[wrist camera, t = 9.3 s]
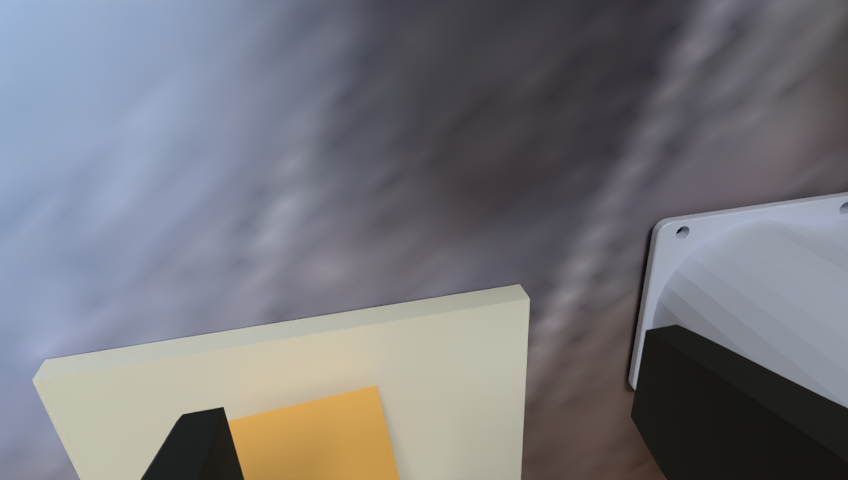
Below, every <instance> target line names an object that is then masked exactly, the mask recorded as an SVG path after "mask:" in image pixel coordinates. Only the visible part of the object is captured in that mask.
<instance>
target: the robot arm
mask: <svg viewBox="0 0 848 480" xmlns="http://www.w3.org/2000/svg"><path fill="white" fill-rule="evenodd" d="M681 227H682V230H681V231H680V232H679V233H678V234H676V233H677V231H678V229H679V228H681ZM629 383H630V385H631V386H632V387H633V389H634V390H635V396H634V402H633V408H632V413H631V417H632V419H633V421H634V423H635V425H636V426H637V428H638V430H639V432H640V434H641V436H642V438H643V440H644V442H645V443H646V445H647V447H648V449H649V450H650V452H651V454H652V456H653V457H654V459H655V461H656V463H657V464H658V466H659V468H660V469H661V471H662V472H663V474H664V475H665V477H666V478H667V480H848V192H844V193H837V194H830V195H823V196H816V197H809V198H803V199H796V200H789V201H782V202H775V203H768V204H761V205H754V206H747V207H741V208H734V209H727V210H720V211H713V212H706V213H699V214H692V215H685V216H679V217H672V218H666V219H663V220H661V221H660V222H658V223H657V224H656V226H655V227H654V229H653V232H652V238H651V244H650V250H649V256H648V263H647V269H646V275H645V281H644V287H643V293H642V300H641V306H640V312H639V318H638V324H637V330H636V337H635V343H634V349H633V355H632V361H631V368H630V374H629ZM141 480H244V476H243V473H242V469H241V466H240V462H239V459H238V456H237V452H236V449H235V445H234V442H233V438H232V435H231V431H230V428H229V424H228V421H227V417H226V414H225V410H224V407H220V408H214V409H209V410H203V411H198V412H192V413H187V414H182V415H181V417H180V418H179V419H178V420H177V421H176V423H175V425H174V426H173V428H172V430H171V431H170V433H169V434H168V436H167V438H166V439H165V441H164V443H163V444H162V446H161V448H160V449H159V451H158V452H157V454H156V456H155V457H154V459H153V461H152V462H151V464H150V465H149V467H148V469H147V470H146V472H145V473H144V475H143V476H142V478H141Z"/></svg>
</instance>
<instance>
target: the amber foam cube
mask: <svg viewBox="0 0 848 480" xmlns="http://www.w3.org/2000/svg"><path fill="white" fill-rule="evenodd" d="M228 424H229V428H230V431H231V435H232V438H233V442H234V445H235V449H236V452H237V456H238V459H239V462H240V466H241V469H242V473H243V476H244V480H400V479H399V475H398V470H397V466H396V462H395V458H394V454H393V450H392V446H391V442H390V438H389V434H388V430H387V426H386V422H385V418H384V413H383V409H382V405H381V401H380V397H379V393H378V389H377V385H376V386H371V387H367V388H363V389H359V390H355V391H351V392H347V393H342V394H338V395H334V396H330V397H326V398H322V399H317V400H313V401H309V402H305V403H301V404H297V405H293V406H288V407H284V408H280V409H276V410H272V411H268V412H263V413H259V414H255V415H251V416H247V417H243V418H239V419H234V420H230V421H228Z"/></svg>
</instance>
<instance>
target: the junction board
mask: <svg viewBox="0 0 848 480" xmlns="http://www.w3.org/2000/svg"><path fill="white" fill-rule="evenodd" d="M529 306H530V298H529V297H528V295H527V294H526V293H525V291H524V290H523V288H522V287H521V286H520V284H518V285H511V286H505V287H499V288H492V289H486V290H480V291H474V292H467V293H461V294H455V295H449V296H442V297H436V298H430V299H424V300H417V301H411V302H405V303H398V304H392V305H386V306H380V307H373V308H367V309H361V310H355V311H348V312H342V313H336V314H330V315H323V316H317V317H311V318H304V319H298V320H292V321H286V322H279V323H273V324H267V325H261V326H254V327H248V328H242V329H236V330H229V331H223V332H217V333H210V334H204V335H198V336H192V337H185V338H179V339H173V340H167V341H160V342H154V343H148V344H142V345H135V346H129V347H123V348H116V349H110V350H104V351H98V352H91V353H85V354H79V355H73V356H66V357H60V358H54V359H48V360H45V361H44V362H43V364H42V366H41V367H40V369H39V371H38V372H37V374H36V375H35V377H34V379H33V380H32V381H33V383H34V385H35V387H36V389H37V392H38V394H39V396H40V398H41V400H42V402H43V404H44V406H45V408H46V410H47V412H48V414H49V416H50V418H51V420H52V422H53V424H54V426H55V429H56V431H57V433H58V435H59V437H60V439H61V441H62V443H63V445H64V447H65V449H66V451H67V453H68V455H69V457H70V459H71V461H72V463H73V466H74V468H75V470H76V472H77V474H78V476H79V478H80V480H141V478H142V476H143V475H144V473H145V472H146V470H147V469H148V467H149V465H150V464H151V462H152V461H153V459H154V457H155V456H156V454H157V452H158V451H159V449H160V448H161V446H162V444H163V443H164V441H165V439H166V438H167V436H168V434H169V433H170V431H171V430H172V428H173V426H174V425H175V423H176V421H177V420H178V419H179V418H180V417H181V415H182V414H187V413H192V412H198V411H203V410H209V409H214V408H220V407H224V410H225V414H226V417H227V421H230V420H234V419H239V418H243V417H247V416H251V415H255V414H259V413H263V412H268V411H272V410H276V409H280V408H284V407H288V406H293V405H297V404H301V403H305V402H309V401H313V400H317V399H322V398H326V397H330V396H334V395H338V394H342V393H347V392H351V391H355V390H359V389H363V388H367V387H371V386H376V385H377V389H378V393H379V397H380V401H381V405H382V409H383V413H384V418H385V422H386V426H387V430H388V434H389V438H390V442H391V446H392V450H393V454H394V458H395V462H396V466H397V470H398V475H399V479H400V480H521V464H522V445H523V425H524V405H525V385H526V365H527V345H528V325H529Z"/></svg>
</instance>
